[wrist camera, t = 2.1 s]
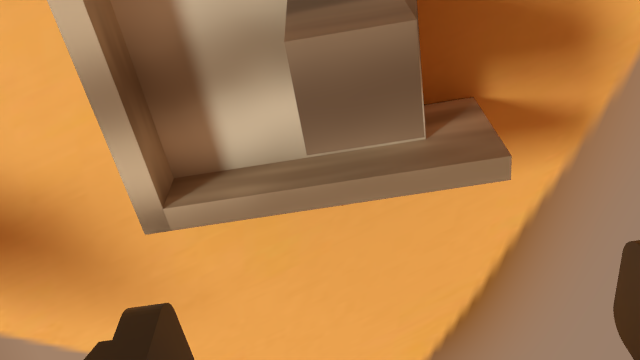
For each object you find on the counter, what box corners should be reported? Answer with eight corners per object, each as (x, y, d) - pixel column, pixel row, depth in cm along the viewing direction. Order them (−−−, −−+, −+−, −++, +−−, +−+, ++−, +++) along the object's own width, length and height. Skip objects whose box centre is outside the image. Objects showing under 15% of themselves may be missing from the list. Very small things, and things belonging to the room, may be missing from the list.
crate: (72, -112, 23) (7, -94, 18) (469, -187, 22) (521, -192, 17) (171, 165, 30) (145, 234, 25) (473, 118, 29) (510, 179, 24)
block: (287, -8, 22) (284, 42, 17) (389, -26, 22) (416, 19, 17) (305, 86, 24) (307, 155, 19) (397, 71, 24) (424, 137, 19)
